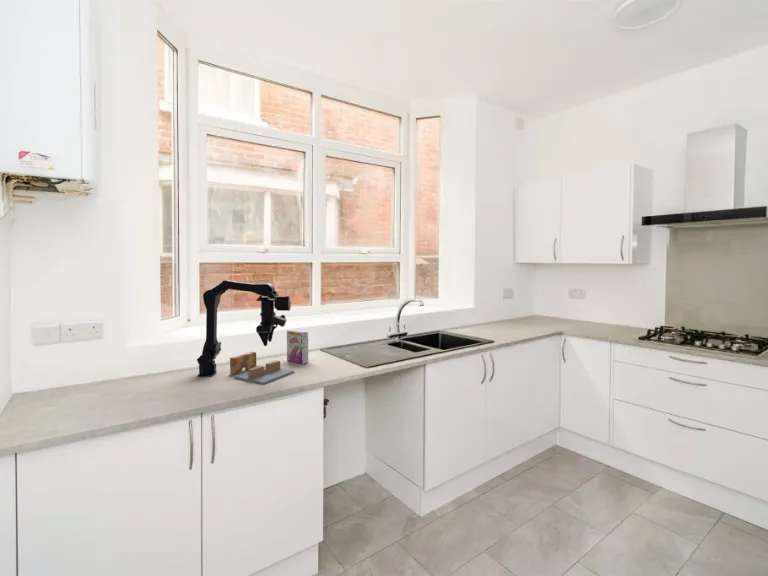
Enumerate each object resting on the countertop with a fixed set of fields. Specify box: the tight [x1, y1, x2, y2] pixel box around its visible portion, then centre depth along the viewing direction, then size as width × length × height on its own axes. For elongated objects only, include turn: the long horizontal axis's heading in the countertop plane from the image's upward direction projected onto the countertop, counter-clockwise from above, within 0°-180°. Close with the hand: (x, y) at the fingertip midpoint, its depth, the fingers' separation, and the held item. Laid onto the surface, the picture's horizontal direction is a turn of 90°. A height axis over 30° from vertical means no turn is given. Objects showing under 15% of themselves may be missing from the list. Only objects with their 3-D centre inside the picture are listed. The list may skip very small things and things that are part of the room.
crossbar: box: [229, 351, 257, 376], centre depth 193 cm, size 14×2×8 cm, turn 153°
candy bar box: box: [286, 329, 309, 365], centre depth 210 cm, size 11×5×16 cm, turn 58°
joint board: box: [233, 359, 295, 385], centre depth 186 cm, size 20×18×5 cm
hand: (267, 343), depth 188 cm, fingers open, 9 cm apart
